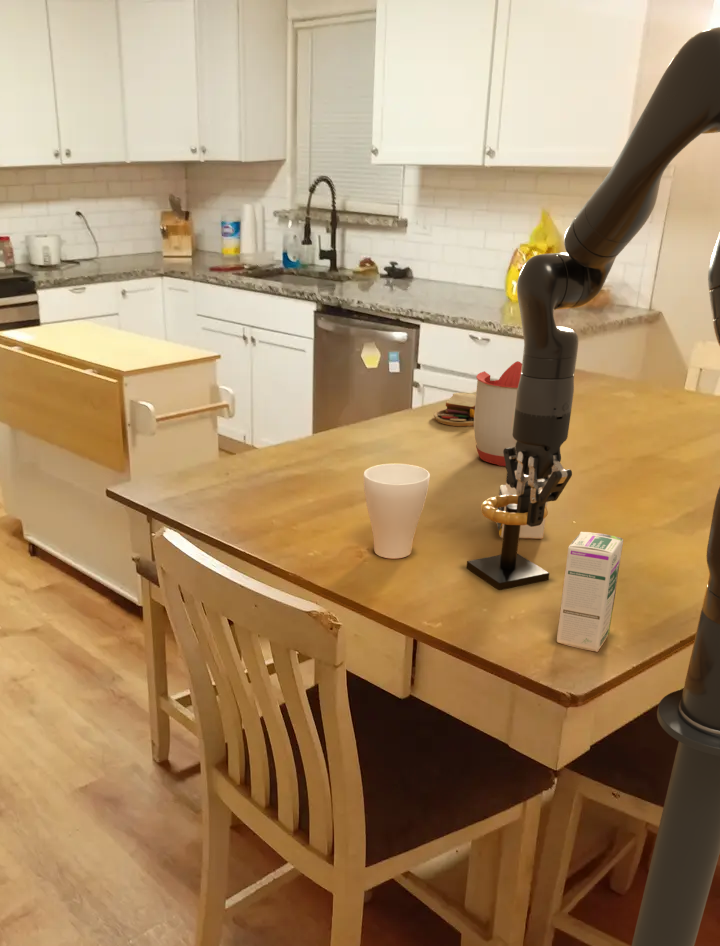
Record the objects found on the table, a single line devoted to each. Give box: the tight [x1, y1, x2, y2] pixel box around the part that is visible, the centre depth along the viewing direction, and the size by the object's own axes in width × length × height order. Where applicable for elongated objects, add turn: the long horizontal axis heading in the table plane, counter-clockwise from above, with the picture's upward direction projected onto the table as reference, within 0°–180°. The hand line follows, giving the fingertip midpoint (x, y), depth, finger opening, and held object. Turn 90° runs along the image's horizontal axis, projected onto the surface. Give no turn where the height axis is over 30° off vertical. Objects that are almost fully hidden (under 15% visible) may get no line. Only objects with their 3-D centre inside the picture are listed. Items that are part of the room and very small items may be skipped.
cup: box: [363, 462, 431, 560], centre depth 154 cm, size 10×10×14 cm
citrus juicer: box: [473, 361, 522, 467], centre depth 194 cm, size 16×17×20 cm
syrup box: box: [556, 530, 624, 653], centre depth 126 cm, size 6×6×14 cm
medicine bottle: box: [495, 471, 549, 540], centre depth 161 cm, size 7×7×12 cm
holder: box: [465, 504, 550, 591], centre depth 146 cm, size 9×9×11 cm
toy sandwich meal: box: [433, 392, 476, 427], centre depth 223 cm, size 12×14×5 cm
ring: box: [480, 495, 549, 525], centre depth 143 cm, size 10×10×2 cm
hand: (529, 521), depth 140 cm, fingers closed on ring, 2 cm apart
